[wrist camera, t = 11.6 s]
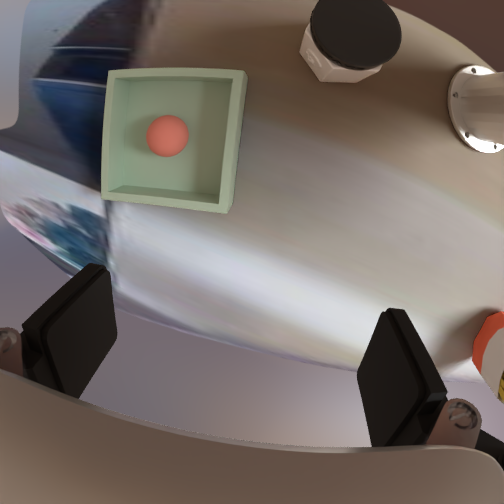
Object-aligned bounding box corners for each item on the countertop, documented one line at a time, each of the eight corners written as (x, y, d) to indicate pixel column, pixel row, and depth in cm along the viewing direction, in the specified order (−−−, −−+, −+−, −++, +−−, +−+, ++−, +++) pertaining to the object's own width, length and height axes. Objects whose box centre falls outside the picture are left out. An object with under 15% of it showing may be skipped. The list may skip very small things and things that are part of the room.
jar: (286, 39, 31) (289, 4, 20) (340, 12, 29) (363, -27, 18) (328, 97, 34) (350, 86, 23) (381, 69, 31) (421, 51, 20)
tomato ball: (196, 116, 35) (181, 115, 30) (192, 156, 37) (177, 161, 32) (158, 114, 35) (140, 114, 31) (155, 153, 37) (137, 157, 33)
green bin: (248, 77, 33) (243, 70, 29) (232, 203, 40) (226, 213, 35) (127, 75, 34) (108, 70, 29) (119, 190, 40) (101, 199, 35)
